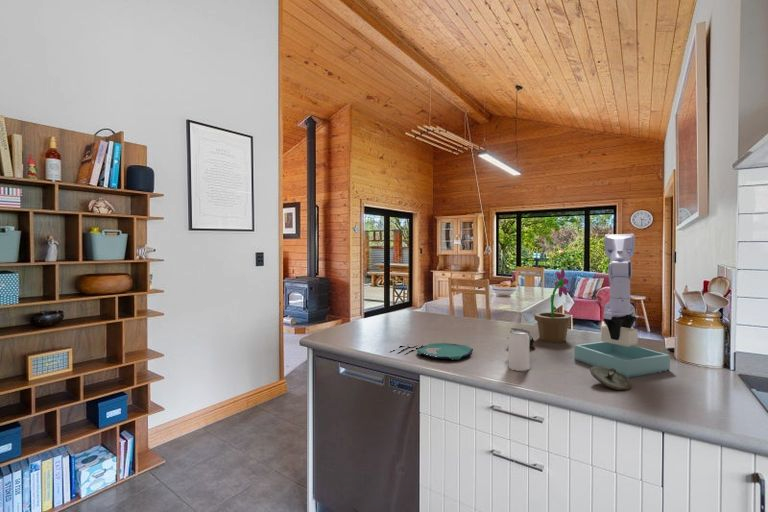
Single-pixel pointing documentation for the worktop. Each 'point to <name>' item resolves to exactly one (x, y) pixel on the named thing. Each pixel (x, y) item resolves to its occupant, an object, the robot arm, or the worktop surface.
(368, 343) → the worktop surface
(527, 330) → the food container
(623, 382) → the lid
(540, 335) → the flowerpot
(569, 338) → the worktop surface
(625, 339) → the small crate
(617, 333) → the robot arm
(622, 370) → the big tray
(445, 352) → the teal platter
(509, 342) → the can
